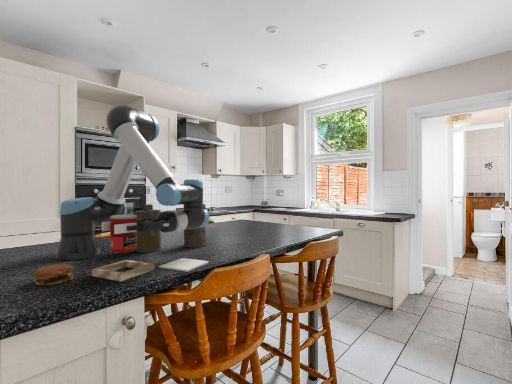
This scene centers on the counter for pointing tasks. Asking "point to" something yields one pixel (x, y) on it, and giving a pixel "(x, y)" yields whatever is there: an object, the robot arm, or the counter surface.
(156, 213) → the canister
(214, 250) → the counter surface
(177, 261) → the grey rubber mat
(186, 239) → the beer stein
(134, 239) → the canned food
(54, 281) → the burger
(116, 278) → the oak holder frame
